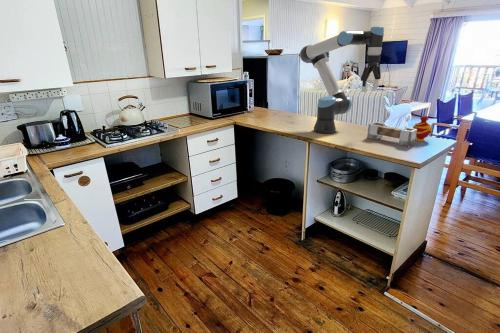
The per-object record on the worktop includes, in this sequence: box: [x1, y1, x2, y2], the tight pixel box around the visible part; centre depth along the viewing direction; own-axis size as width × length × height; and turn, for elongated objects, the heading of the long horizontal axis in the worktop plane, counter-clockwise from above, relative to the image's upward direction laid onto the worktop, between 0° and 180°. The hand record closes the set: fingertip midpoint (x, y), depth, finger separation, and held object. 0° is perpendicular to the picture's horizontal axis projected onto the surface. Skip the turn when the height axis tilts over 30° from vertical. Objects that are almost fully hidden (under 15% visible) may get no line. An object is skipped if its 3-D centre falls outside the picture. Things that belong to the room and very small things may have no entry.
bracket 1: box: [366, 121, 385, 141], centre depth 187 cm, size 6×8×9 cm
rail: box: [378, 125, 410, 139], centre depth 180 cm, size 20×4×5 cm, turn 42°
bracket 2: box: [398, 127, 418, 148], centre depth 173 cm, size 6×8×9 cm
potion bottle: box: [412, 115, 433, 142], centre depth 180 cm, size 10×10×15 cm
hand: (369, 90), depth 185 cm, fingers open, 13 cm apart
